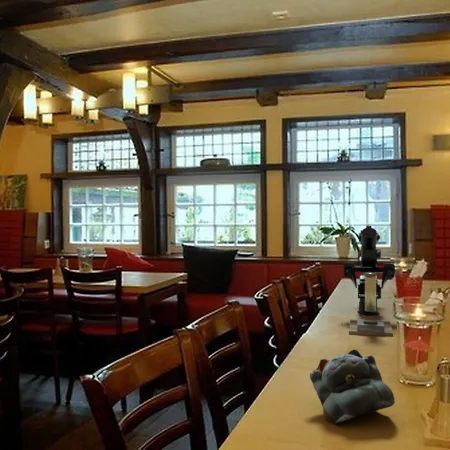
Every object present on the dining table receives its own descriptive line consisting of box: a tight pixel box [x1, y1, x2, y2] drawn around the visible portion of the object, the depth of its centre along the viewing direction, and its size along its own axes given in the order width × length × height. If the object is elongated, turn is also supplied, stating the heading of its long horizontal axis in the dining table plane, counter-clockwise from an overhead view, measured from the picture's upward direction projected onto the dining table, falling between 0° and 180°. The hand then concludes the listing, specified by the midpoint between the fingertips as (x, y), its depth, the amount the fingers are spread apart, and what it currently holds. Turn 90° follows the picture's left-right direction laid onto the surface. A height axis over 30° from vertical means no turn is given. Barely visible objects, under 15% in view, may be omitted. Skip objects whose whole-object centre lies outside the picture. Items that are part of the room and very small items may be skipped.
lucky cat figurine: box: [309, 349, 396, 425], centre depth 107 cm, size 15×12×14 cm
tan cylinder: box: [365, 273, 377, 312], centre depth 180 cm, size 4×4×13 cm
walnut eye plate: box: [348, 319, 394, 337], centre depth 185 cm, size 20×14×3 cm
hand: (369, 287), depth 197 cm, fingers open, 9 cm apart
